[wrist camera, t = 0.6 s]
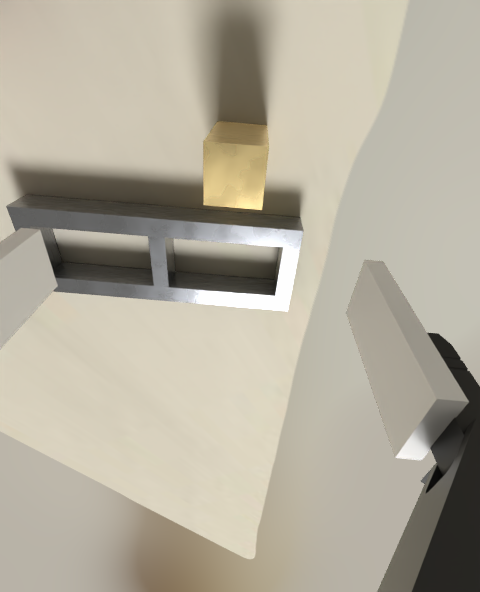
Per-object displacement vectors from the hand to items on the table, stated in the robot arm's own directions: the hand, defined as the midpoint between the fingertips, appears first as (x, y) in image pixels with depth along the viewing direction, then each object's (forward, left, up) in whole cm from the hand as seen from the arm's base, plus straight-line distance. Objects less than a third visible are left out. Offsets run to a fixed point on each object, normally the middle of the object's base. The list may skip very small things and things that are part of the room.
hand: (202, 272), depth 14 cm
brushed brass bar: (-1, +1, -18) cm, 18 cm away
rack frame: (+9, -6, -18) cm, 21 cm away
